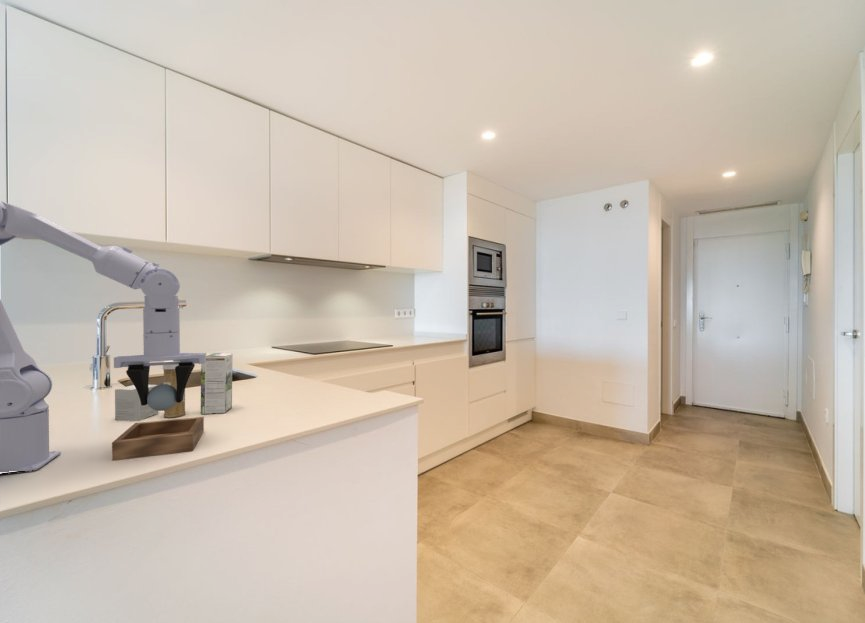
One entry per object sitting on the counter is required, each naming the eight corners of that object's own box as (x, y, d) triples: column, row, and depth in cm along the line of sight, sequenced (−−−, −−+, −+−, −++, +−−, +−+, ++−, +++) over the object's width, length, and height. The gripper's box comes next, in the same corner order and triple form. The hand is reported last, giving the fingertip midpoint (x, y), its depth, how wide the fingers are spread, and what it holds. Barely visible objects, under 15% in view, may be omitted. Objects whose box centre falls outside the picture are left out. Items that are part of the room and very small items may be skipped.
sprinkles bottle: (185, 416, 94) (185, 360, 93) (162, 419, 91) (162, 362, 91) (185, 412, 98) (185, 358, 97) (163, 414, 95) (162, 359, 95)
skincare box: (136, 413, 96) (136, 383, 96) (159, 414, 96) (158, 384, 96) (114, 420, 90) (113, 388, 90) (138, 421, 90) (137, 389, 90)
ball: (143, 415, 72) (142, 388, 72) (151, 408, 76) (150, 383, 76) (175, 412, 74) (174, 385, 73) (181, 405, 78) (180, 380, 78)
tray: (112, 460, 67) (112, 442, 67) (135, 438, 78) (135, 422, 78) (192, 450, 72) (192, 434, 72) (203, 431, 83) (203, 416, 83)
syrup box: (208, 408, 101) (207, 352, 100) (233, 407, 102) (232, 352, 102) (200, 414, 95) (199, 355, 95) (226, 413, 96) (226, 355, 96)
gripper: (208, 330, 81) (208, 395, 81) (123, 331, 76) (123, 401, 76) (202, 332, 74) (203, 402, 75) (108, 334, 69) (109, 410, 69)
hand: (162, 402), depth 75 cm, fingers closed on ball, 5 cm apart
